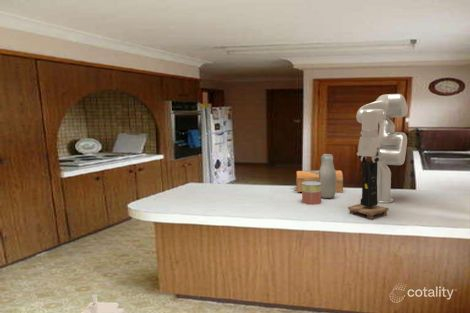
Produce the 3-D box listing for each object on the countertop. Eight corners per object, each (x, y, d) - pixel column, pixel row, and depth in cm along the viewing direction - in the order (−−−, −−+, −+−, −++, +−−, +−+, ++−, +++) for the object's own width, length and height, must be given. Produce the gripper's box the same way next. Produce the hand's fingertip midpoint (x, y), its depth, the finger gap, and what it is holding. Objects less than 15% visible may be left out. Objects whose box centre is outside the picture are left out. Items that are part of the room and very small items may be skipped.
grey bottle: (330, 195, 215) (330, 152, 211) (338, 199, 205) (338, 154, 201) (316, 196, 213) (316, 153, 209) (323, 200, 203) (323, 155, 199)
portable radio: (368, 208, 170) (370, 159, 166) (358, 205, 175) (359, 158, 171) (378, 205, 174) (379, 158, 170) (368, 202, 179) (369, 156, 175)
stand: (348, 213, 177) (348, 206, 177) (365, 208, 185) (365, 202, 184) (371, 220, 165) (371, 213, 165) (388, 214, 173) (388, 208, 172)
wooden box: (339, 187, 235) (339, 168, 233) (343, 193, 219) (343, 172, 217) (296, 187, 240) (296, 168, 238) (297, 193, 224) (296, 173, 222)
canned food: (314, 199, 207) (314, 180, 205) (324, 204, 196) (325, 184, 195) (298, 201, 204) (298, 182, 202) (308, 206, 193) (307, 186, 191)
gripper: (350, 133, 174) (350, 168, 177) (380, 135, 160) (379, 172, 163) (360, 132, 178) (359, 166, 181) (389, 134, 164) (388, 170, 167)
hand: (368, 168), depth 172 cm, fingers closed on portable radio, 5 cm apart
